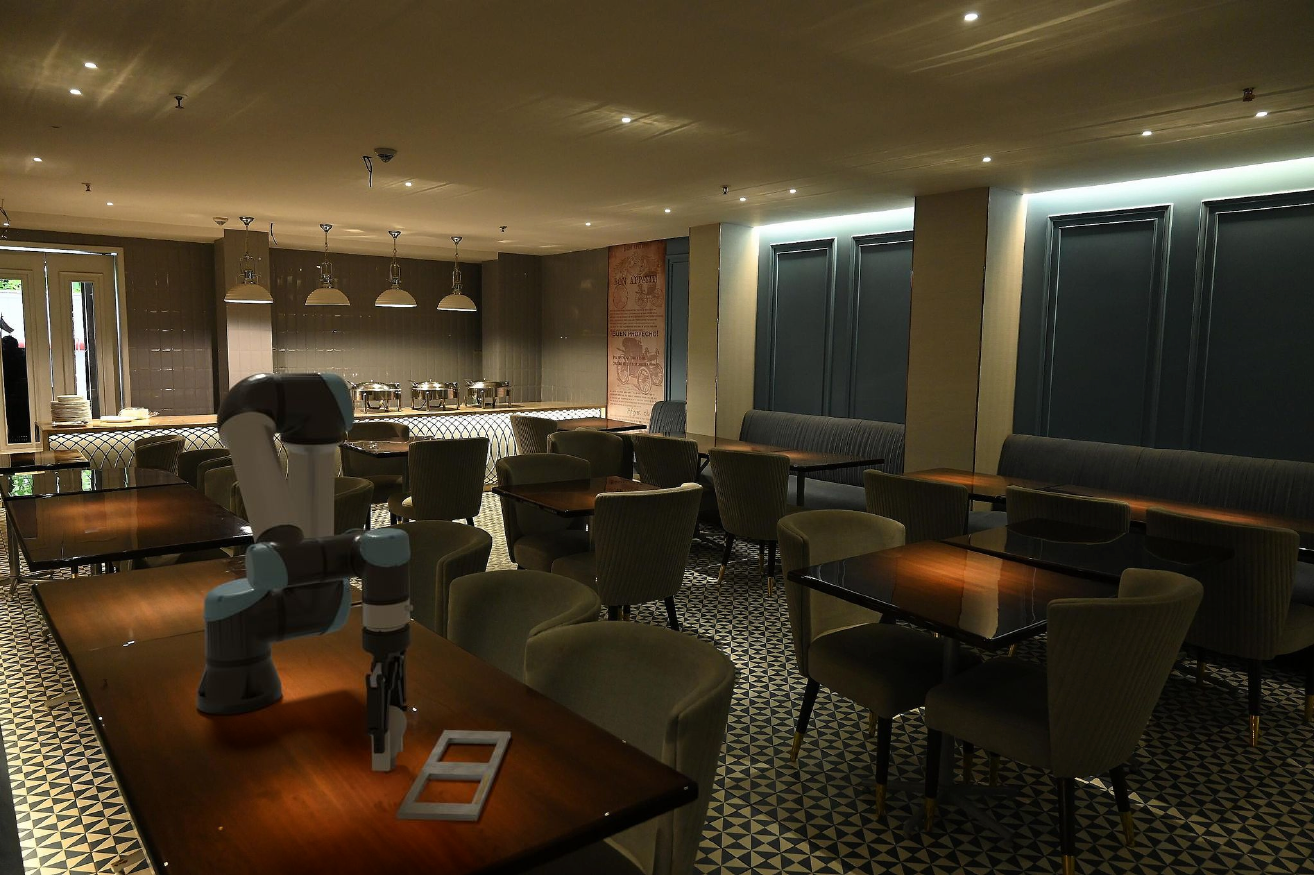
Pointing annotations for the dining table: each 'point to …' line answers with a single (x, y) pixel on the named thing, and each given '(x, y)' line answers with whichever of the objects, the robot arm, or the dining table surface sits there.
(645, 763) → the dining table surface
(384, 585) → the robot arm
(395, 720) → the lightbulb
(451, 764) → the grey window frame
